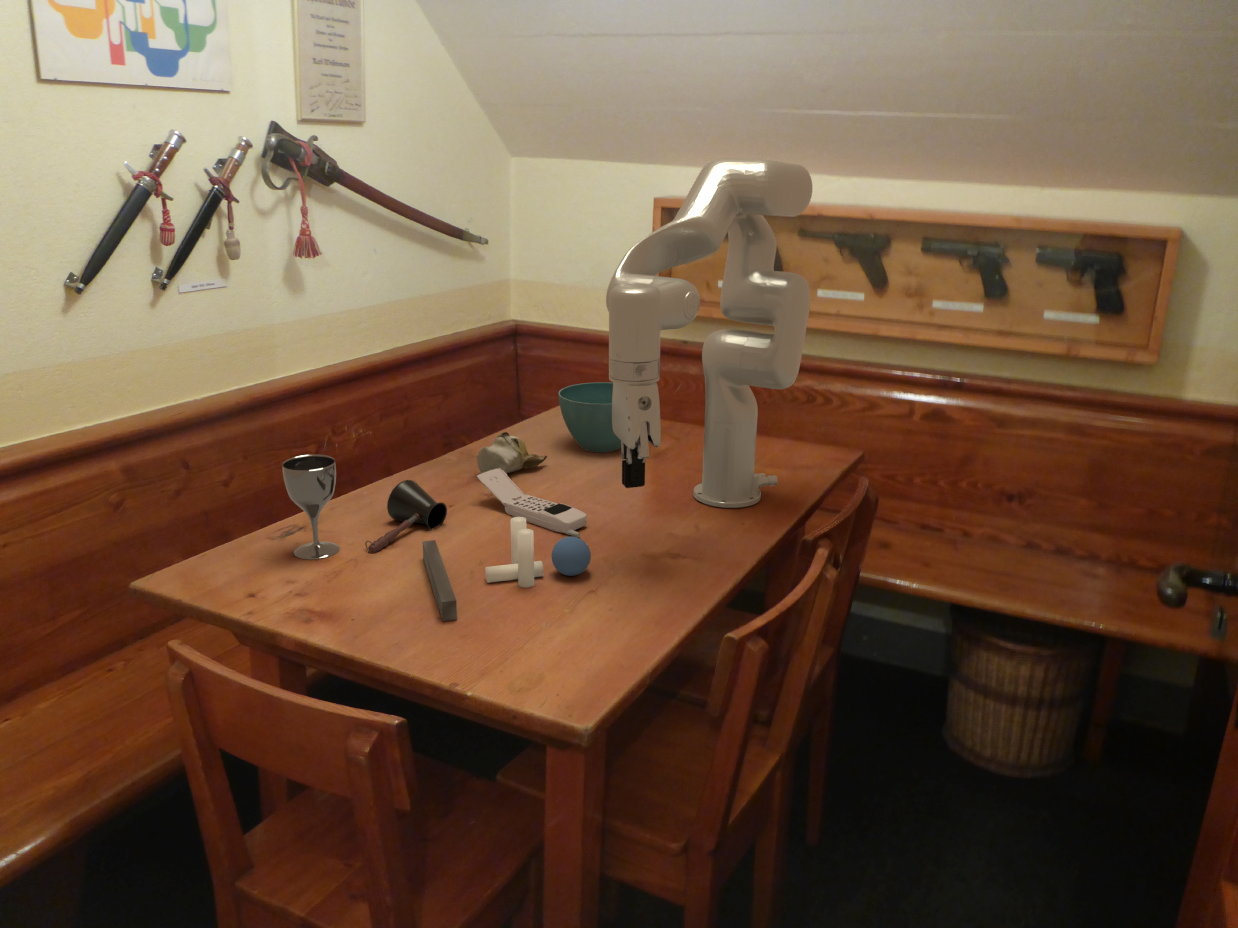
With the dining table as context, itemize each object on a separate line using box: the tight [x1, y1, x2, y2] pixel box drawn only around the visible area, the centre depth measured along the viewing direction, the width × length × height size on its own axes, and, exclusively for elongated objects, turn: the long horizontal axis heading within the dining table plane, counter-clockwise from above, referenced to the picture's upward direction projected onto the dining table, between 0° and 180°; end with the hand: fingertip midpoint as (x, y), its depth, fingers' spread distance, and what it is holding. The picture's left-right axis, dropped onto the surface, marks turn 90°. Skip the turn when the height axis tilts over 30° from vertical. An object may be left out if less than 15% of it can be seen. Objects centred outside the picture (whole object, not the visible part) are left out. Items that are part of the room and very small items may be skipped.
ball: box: [551, 535, 592, 577], centre depth 149 cm, size 6×6×6 cm
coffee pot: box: [364, 479, 448, 554], centre depth 165 cm, size 8×18×8 cm
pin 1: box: [509, 516, 527, 564], centre depth 150 cm, size 2×2×8 cm
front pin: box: [484, 560, 544, 584], centre depth 148 cm, size 2×2×8 cm
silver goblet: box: [281, 454, 341, 561], centre depth 155 cm, size 8×8×15 cm
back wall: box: [422, 539, 458, 623], centre depth 145 cm, size 2×22×3 cm, turn 18°
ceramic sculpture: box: [476, 431, 548, 474], centre depth 195 cm, size 11×9×15 cm
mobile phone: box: [476, 468, 588, 538], centre depth 172 cm, size 6×6×25 cm
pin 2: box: [517, 528, 535, 588], centre depth 145 cm, size 2×2×8 cm
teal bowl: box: [558, 381, 621, 454], centre depth 210 cm, size 18×18×12 cm
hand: (633, 485), depth 150 cm, fingers closed
